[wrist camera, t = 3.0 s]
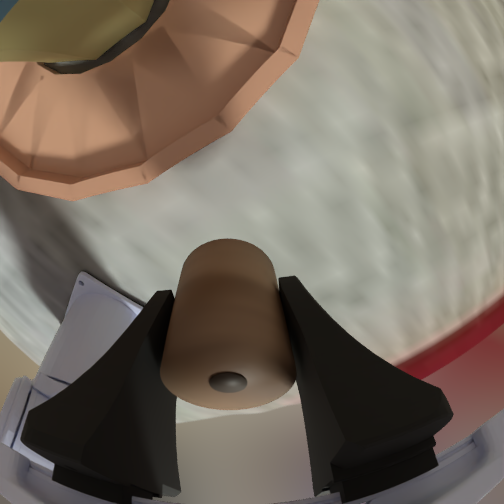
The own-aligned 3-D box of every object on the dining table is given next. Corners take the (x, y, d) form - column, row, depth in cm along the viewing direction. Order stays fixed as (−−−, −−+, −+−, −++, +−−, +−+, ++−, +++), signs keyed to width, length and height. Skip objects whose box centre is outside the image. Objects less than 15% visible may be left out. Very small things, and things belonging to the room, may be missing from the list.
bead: (237, 325, 13) (240, 419, 9) (164, 287, 11) (139, 385, 7) (294, 272, 11) (324, 371, 7) (216, 219, 10) (207, 317, 6)
